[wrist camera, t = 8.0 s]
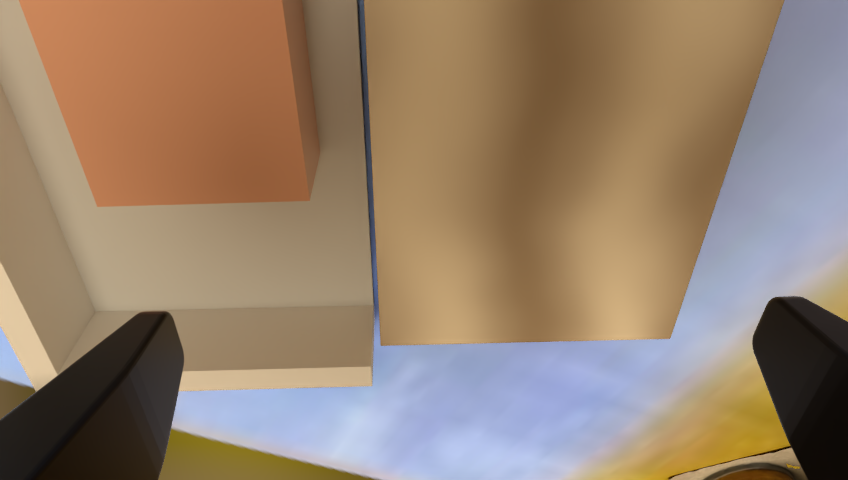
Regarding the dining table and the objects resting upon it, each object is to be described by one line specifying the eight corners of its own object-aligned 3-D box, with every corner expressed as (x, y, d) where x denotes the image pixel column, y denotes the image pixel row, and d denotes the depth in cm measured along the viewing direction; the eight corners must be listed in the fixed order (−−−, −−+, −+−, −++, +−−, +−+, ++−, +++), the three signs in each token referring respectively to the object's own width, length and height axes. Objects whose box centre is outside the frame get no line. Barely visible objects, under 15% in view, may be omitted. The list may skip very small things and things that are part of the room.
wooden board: (861, -397, 13) (928, -429, 11) (651, 303, 24) (670, 338, 23) (349, -409, 13) (342, -443, 11) (381, 309, 24) (380, 345, 22)
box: (332, -444, 12) (314, -524, 9) (374, 319, 24) (372, 385, 21) (-266, -459, 12) (-476, -548, 9) (80, 325, 24) (38, 394, 21)
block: (296, -48, 16) (278, -24, 14) (320, 152, 20) (309, 200, 17) (70, -44, 16) (11, -19, 14) (134, 157, 19) (97, 207, 17)
